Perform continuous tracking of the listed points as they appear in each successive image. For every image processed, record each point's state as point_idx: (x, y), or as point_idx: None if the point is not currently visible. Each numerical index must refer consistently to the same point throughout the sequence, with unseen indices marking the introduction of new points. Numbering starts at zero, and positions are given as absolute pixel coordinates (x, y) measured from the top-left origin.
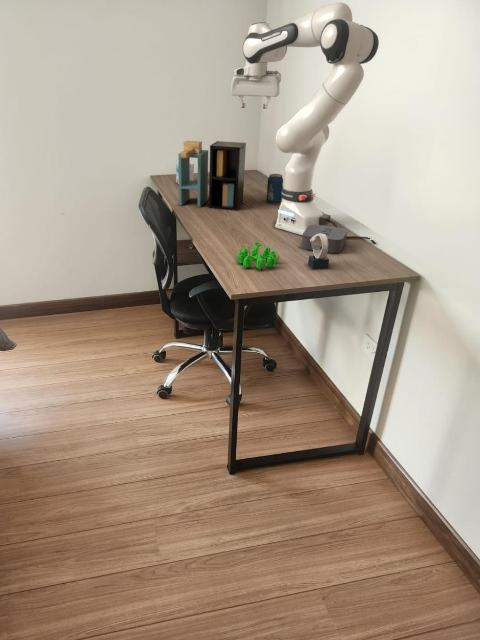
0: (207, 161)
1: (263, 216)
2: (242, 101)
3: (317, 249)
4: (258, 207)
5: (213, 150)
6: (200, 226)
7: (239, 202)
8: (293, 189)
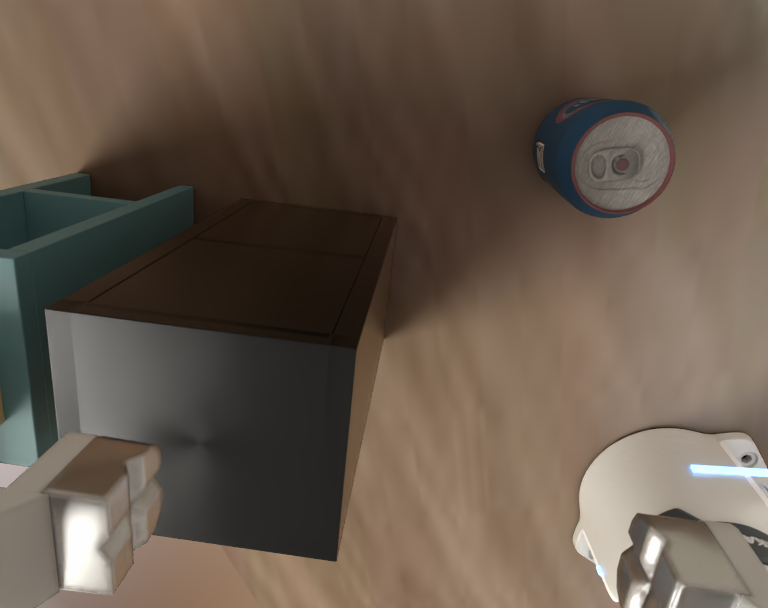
0: (71, 256)
1: (520, 408)
2: (7, 573)
3: None
4: (489, 266)
5: None
6: (275, 560)
7: (386, 304)
8: None
